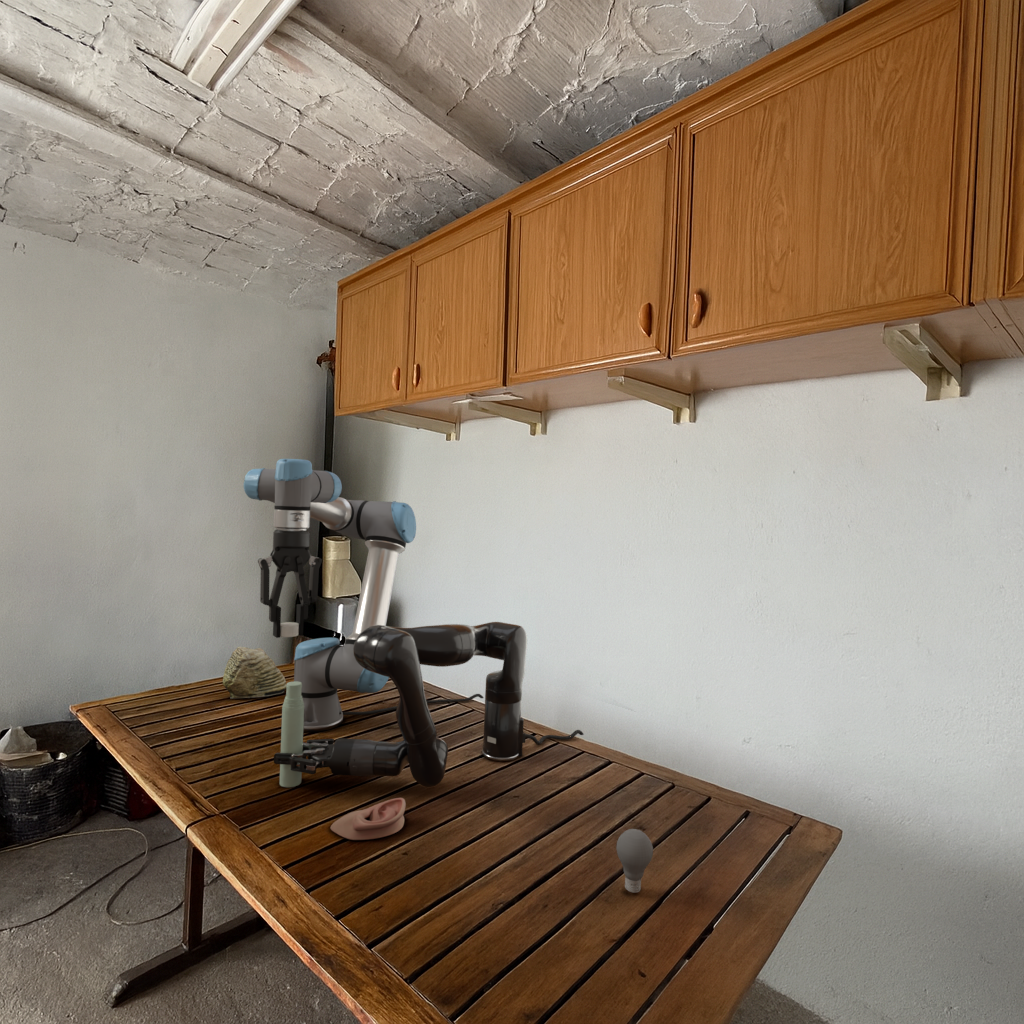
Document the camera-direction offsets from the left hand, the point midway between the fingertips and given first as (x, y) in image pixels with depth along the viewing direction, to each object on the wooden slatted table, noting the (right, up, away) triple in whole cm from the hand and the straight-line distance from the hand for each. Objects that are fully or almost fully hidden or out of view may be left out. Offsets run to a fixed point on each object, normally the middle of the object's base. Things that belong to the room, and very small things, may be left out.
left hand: (288, 635), depth 139 cm
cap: (0, +2, 0) cm, 2 cm away
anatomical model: (+22, -34, -17) cm, 44 cm away
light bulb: (+69, -36, -34) cm, 85 cm away
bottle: (0, -33, 0) cm, 33 cm away
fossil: (-31, -30, +59) cm, 73 cm away
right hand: (-2, -26, 0) cm, 26 cm away
